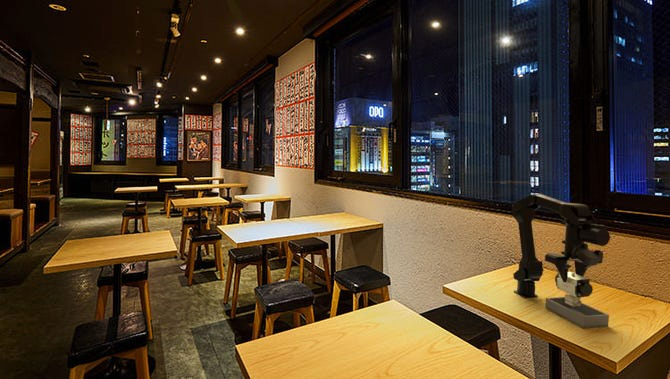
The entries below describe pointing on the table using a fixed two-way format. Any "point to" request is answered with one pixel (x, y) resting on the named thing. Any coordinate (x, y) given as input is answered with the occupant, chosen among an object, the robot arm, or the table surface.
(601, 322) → the bin
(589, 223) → the robot arm
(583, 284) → the pneumatic valve
